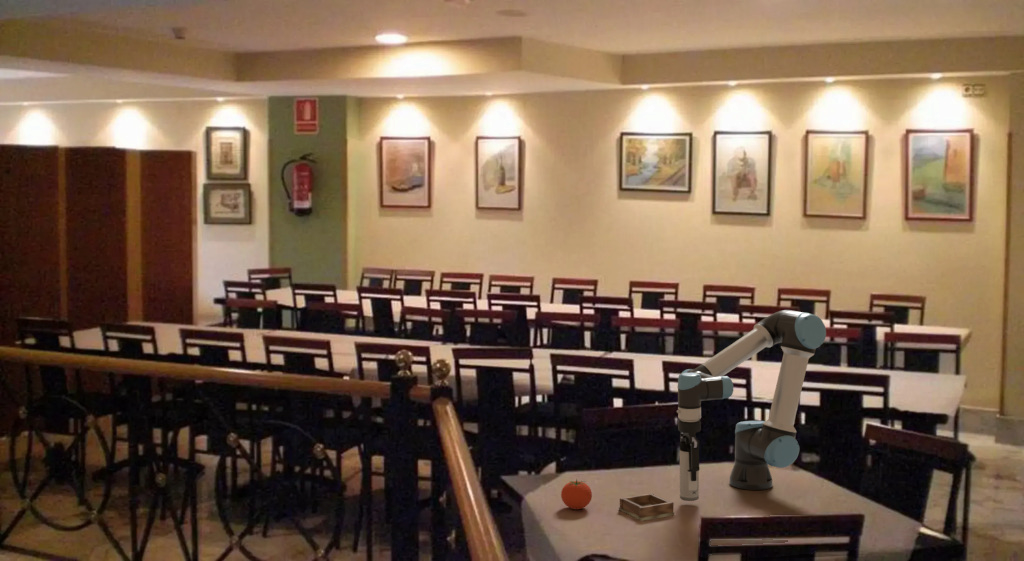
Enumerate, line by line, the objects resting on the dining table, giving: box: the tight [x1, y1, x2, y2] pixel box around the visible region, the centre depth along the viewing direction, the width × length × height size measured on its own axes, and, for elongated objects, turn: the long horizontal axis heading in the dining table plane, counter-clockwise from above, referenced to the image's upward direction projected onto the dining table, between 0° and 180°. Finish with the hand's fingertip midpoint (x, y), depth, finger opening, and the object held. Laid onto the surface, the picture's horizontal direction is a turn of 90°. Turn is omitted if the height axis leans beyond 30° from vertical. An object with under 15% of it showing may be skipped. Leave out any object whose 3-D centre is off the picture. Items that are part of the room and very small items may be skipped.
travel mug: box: [679, 439, 701, 502], centre depth 350 cm, size 6×7×20 cm
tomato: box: [560, 478, 593, 510], centre depth 347 cm, size 10×10×10 cm
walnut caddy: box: [618, 493, 675, 522], centre depth 343 cm, size 13×13×4 cm
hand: (689, 486), depth 351 cm, fingers closed on travel mug, 6 cm apart
